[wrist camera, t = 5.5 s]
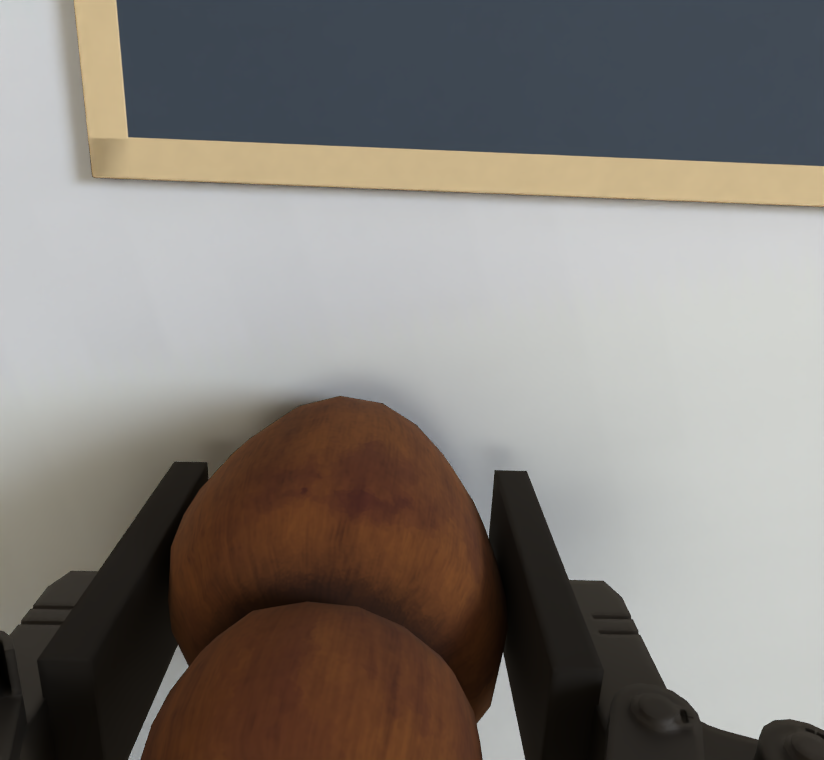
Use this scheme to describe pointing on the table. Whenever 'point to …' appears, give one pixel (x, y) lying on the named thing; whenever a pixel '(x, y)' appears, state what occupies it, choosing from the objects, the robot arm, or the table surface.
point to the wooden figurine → (332, 599)
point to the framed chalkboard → (462, 95)
